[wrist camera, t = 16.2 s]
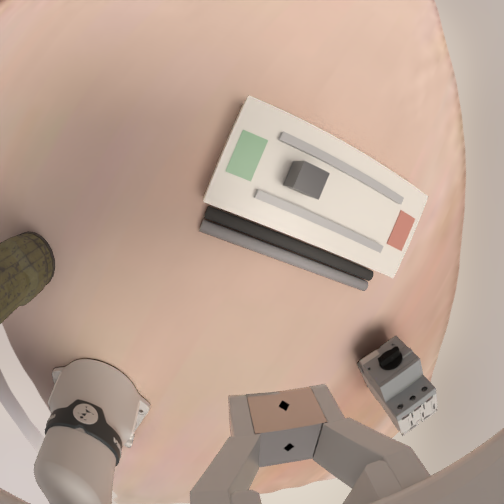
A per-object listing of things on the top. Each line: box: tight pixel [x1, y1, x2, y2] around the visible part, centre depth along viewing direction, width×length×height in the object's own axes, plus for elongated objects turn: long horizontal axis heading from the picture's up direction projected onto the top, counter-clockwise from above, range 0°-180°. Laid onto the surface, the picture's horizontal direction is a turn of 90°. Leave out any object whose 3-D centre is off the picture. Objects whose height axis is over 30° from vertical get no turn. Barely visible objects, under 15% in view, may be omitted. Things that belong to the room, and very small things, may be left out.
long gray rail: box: [199, 206, 373, 291], centre depth 40 cm, size 3×26×2 cm, turn 67°
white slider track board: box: [203, 95, 428, 278], centre depth 36 cm, size 13×28×6 cm, turn 67°
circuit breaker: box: [357, 336, 437, 436], centre depth 42 cm, size 8×14×15 cm, turn 29°
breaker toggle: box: [283, 161, 330, 200], centre depth 30 cm, size 3×3×4 cm
